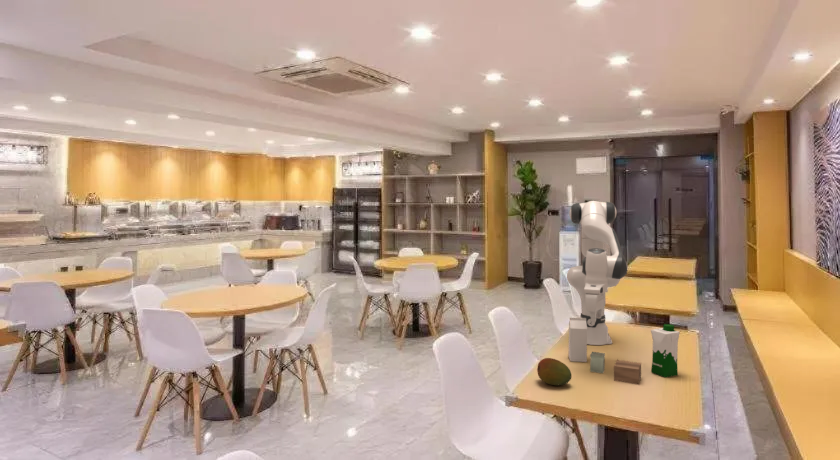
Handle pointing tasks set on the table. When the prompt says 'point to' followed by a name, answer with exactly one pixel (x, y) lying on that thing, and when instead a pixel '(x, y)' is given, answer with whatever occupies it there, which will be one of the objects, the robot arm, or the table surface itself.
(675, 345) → the soya milk
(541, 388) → the table surface
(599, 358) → the grey wooden block
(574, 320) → the milk carton
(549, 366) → the fruit
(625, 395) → the table surface
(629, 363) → the walnut block
